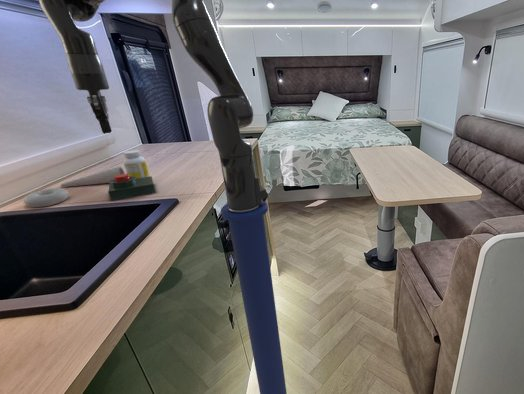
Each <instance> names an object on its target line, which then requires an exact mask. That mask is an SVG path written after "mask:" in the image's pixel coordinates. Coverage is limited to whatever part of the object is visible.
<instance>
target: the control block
mask: <svg viewBox="0 0 524 394" xmlns="http://www.w3.org/2000/svg"><path fill="white" fill-rule="evenodd" d="M149 176H150V175H149ZM129 177H130V179H129V180H126V181H121V182H115V179H112V180H110V182H109V183H108V184H109V186H108V191H107V193H108V195H109V198H110V201H112V202H114V201H118V200H123V199H129V198H134V197H140V196H146V195H150V194H151V195H152V194H156V188H155V184H154V180H153V176H152V175H151V176H150V177H144V178H137V179H136V178H135V177H133V176H129Z"/></svg>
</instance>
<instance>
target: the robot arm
mask: <svg viewBox="0 0 524 394" xmlns="http://www.w3.org/2000/svg"><path fill="white" fill-rule="evenodd" d="M105 1H106V0H38V2H39V6H40V7H41V10H42V12H43V13H44V15H45V17H46V18H47V19H48V21H49V23H50V25H51V26H52V27H53V29H54V31H55V32H56V34H57V35H58V37H59V38H60V41H61V44H62V46H63V50H64V54H65V56H66V62H67V66H68V68H69V72H70V74H71V77H72V80H73V83H74V85H75V88H76V90H78V91H87V92H88V96H86V100H87V103H88V104H89V106H90V108H91V110H92V113H93V114H94V116H95V119H96V120H97V121H98V123H99V126H100V129H101V132H102V133H103V134H111V133H112V132H113V131H112V127H111V124H110V120H109V119H110V117H109V116H110V115H109V114H108V112H109V109H108V106H107V98H106V95H102V93H101V91H103V90H104V91H106V90H109V89H110V85H109V81H108V79H107V75H106V73H105V69H104V65H103V63H102V60H101V58H100V56H99V53H98V48H97V45H96V42H95V40H94V37H93V35H92V34H90V32H87V31H85V30H83V29H81V28H80V27H79V26H78V25H77V23H76V22H79V23H84V22H88V21H90V20H92V19H93V18H94V17H95V15H96V13H97V11H98V10H99V9H100V6H101V4H102V3H103V2H105ZM171 19H172V24H173V27H174V29H175V31H176V34H177V36H178V38H179V40H180V42H181V44H182V46H183V48H184V50H185V52H186V53H187V55H188V56H189V57H190V58H191V59H192V61H194V63H195V64H196V65H197V66H198V67H199V68H200V69H201V70H202V71H203V72H204V73H205V74H206V75H207V76H208V77H209V79H210V80H211V81H212V83H213V84H214V86H215V87H216V89H217V91H218V93H219V95H218V96H214V97H212V98H211V99H210V100H209V101H208V104H207V108H206V109H207V110H206V112H207V119H208V124H209V128H210V132H211V137H212V140H213V143H214V145H215V147H216V149H217V152H218V156H219V157H218V158H219V162H220V167H221V172H222V173H221V174H222V179H223V184H224V189H225V196H226V200H227V204H228V209H229V211H230V212H233V213H247V212H251V211H254V210H256V209H258V208H259V207H262V202H261V200H262V201H264V202H265V201H266V202H267V199H268V198H269V194H268V192H267V189H266V188H265V187H263V186H262V185H261V184H260V180H259V177H257V174H256V166H255V159H254V158H255V157H254V152H253V145H252V142H250V141H247V140H244V139H243V138H242V136H241V131H240V129H243V128H247V127H249V126H250V125H251V124H252V122H253V121H254V109H253V107H252V104H251V102H250V100H249V98H248V96H247V94H246V92H245V90H244V89H243V87H242V85H241V83H240V80H239V79H238V77H237V75H236V73H235V71H234V69H233V66H232V64H231V63H230V60H229V58H228V55H227V53H226V51H225V49H224V47H223V44H222V42H221V40H220V37H219V33H218V32H217V29H216V27H215V24H214V21H213V20H212V18H211V16H210V14H209V12H208V9H207V7H206V5H205V2H204V0H171Z"/></svg>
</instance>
